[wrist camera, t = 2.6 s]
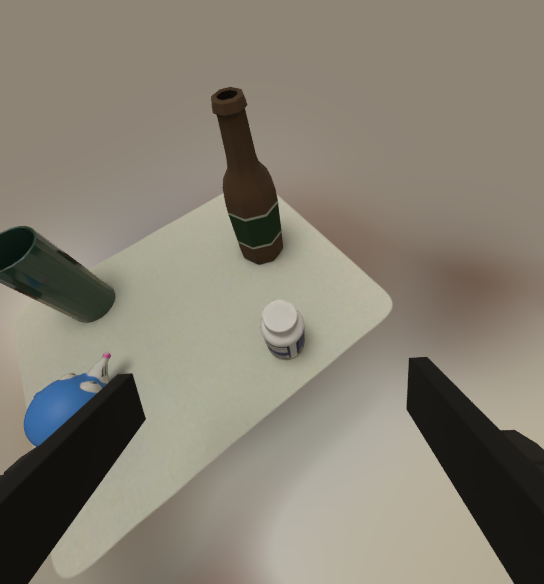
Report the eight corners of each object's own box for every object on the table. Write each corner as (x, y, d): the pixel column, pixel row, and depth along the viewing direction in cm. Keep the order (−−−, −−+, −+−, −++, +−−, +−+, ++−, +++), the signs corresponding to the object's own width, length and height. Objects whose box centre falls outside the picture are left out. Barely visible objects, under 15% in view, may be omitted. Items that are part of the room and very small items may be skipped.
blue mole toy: (161, 372, 37) (125, 357, 29) (113, 465, 32) (56, 475, 24) (97, 349, 40) (50, 330, 32) (44, 431, 35) (-26, 431, 27)
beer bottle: (267, 224, 48) (239, 67, 27) (292, 250, 45) (281, 91, 24) (233, 245, 47) (175, 95, 26) (255, 273, 43) (210, 125, 22)
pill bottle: (292, 318, 39) (288, 286, 30) (311, 347, 36) (313, 322, 27) (261, 335, 38) (248, 307, 29) (278, 367, 35) (270, 347, 27)
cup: (77, 330, 42) (-27, 285, 29) (70, 298, 45) (-25, 244, 32) (119, 307, 43) (38, 253, 30) (109, 277, 46) (33, 217, 33)
